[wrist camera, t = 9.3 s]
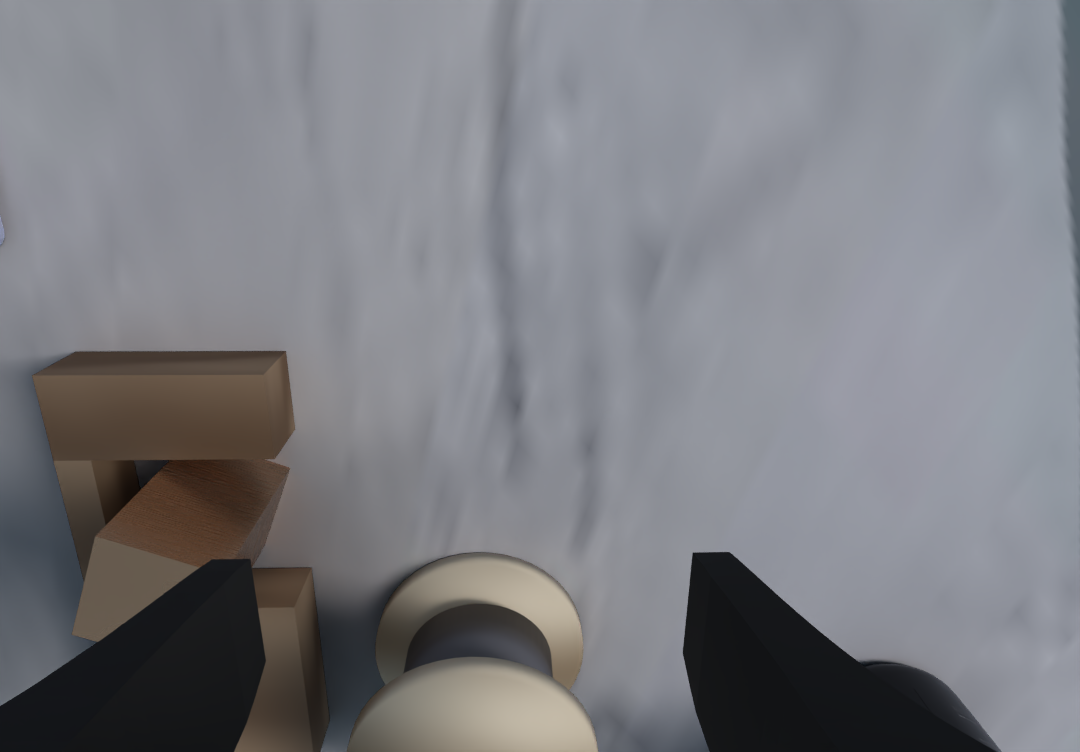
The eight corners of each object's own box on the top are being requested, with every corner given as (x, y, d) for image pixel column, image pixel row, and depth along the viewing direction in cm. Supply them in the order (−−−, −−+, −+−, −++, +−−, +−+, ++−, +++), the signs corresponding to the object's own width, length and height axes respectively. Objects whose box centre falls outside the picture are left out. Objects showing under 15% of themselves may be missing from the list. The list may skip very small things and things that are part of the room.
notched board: (76, 351, 21) (32, 375, 19) (285, 351, 21) (263, 374, 19) (160, 724, 25) (131, 772, 24) (329, 719, 26) (315, 768, 24)
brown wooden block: (171, 516, 23) (71, 634, 17) (193, 436, 22) (94, 536, 17) (265, 545, 23) (194, 668, 18) (290, 467, 22) (223, 574, 17)
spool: (371, 553, 23) (332, 679, 18) (584, 551, 24) (605, 673, 18) (385, 718, 26) (354, 870, 21) (578, 714, 26) (595, 862, 21)
